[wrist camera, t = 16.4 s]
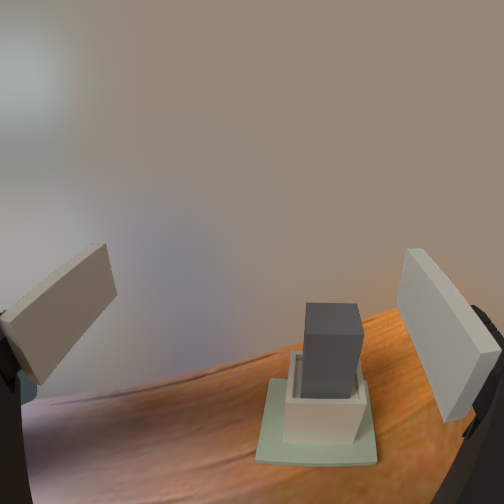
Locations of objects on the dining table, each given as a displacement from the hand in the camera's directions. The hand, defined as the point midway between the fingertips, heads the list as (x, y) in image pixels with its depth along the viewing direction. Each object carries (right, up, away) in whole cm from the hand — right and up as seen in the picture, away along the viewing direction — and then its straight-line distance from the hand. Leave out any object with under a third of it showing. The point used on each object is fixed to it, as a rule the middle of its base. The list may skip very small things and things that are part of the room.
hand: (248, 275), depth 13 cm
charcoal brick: (+9, -15, +24) cm, 30 cm away
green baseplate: (+10, -24, +27) cm, 37 cm away
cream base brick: (+10, -23, +27) cm, 37 cm away
